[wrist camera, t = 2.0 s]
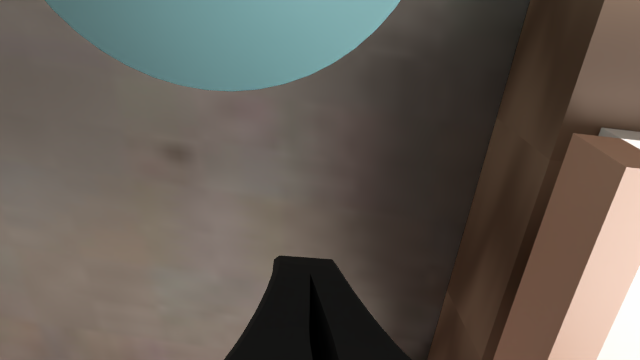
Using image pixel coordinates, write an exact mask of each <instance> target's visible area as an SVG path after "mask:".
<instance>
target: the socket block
mask: <svg viewBox="0 0 640 360" xmlns="http://www.w3.org/2000/svg"><path fill="white" fill-rule="evenodd" d="M601 128H610V129H619V130H627V131H636V132H640V0H530V3H529V7H528V10H527V14H526V17H525V21H524V24H523V28H522V31H521V35H520V38H519V42H518V45H517V48H516V52H515V55H514V59H513V62H512V66H511V69H510V73H509V76H508V80H507V83H506V87H505V90H504V94H503V97H502V101H501V104H500V108H499V111H498V115H497V118H496V122H495V125H494V129H493V132H492V135H491V139H490V142H489V146H488V149H487V153H486V156H485V160H484V163H483V167H482V170H481V174H480V177H479V181H478V184H477V188H476V191H475V195H474V198H473V202H472V205H471V209H470V212H469V216H468V219H467V223H466V226H465V229H464V233H463V236H462V240H461V243H460V247H459V250H458V254H457V257H456V261H455V264H454V268H453V271H452V275H451V278H450V282H449V285H448V289H447V292H446V296H445V299H444V303H443V306H442V310H441V313H440V317H439V320H438V323H437V327H436V330H435V334H434V337H433V341H432V344H431V348H430V351H429V355H428V358H427V360H493V358H494V355H495V353H496V350H497V347H498V344H499V341H500V338H501V336H502V333H503V330H504V327H505V324H506V322H507V319H508V316H509V313H510V310H511V307H512V305H513V302H514V299H515V296H516V293H517V290H518V288H519V285H520V282H521V279H522V276H523V273H524V271H525V268H526V265H527V262H528V259H529V257H530V254H531V251H532V248H533V245H534V242H535V240H536V237H537V234H538V231H539V228H540V225H541V223H542V220H543V217H544V214H545V211H546V208H547V206H548V203H549V200H550V197H551V194H552V192H553V189H554V186H555V183H556V180H557V177H558V175H559V172H560V169H561V166H562V163H563V160H564V158H565V155H566V152H567V149H568V146H569V143H570V141H571V138H572V135H573V133H577V134H585V135H594V136H598V135H599V133H600V130H601Z"/></svg>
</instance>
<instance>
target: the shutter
mask: <svg viewBox="0 0 640 360" xmlns="http://www.w3.org/2000/svg"><path fill="white" fill-rule="evenodd" d="M493 360H640V132H636V131H627V130H619V129H610V128H601V130H600V133H599V135H598V136H594V135H585V134H577V133H573V135H572V138H571V141H570V143H569V146H568V149H567V152H566V155H565V158H564V160H563V163H562V166H561V169H560V172H559V175H558V177H557V180H556V183H555V186H554V189H553V192H552V194H551V197H550V200H549V203H548V206H547V208H546V211H545V214H544V217H543V220H542V223H541V225H540V228H539V231H538V234H537V237H536V240H535V242H534V245H533V248H532V251H531V254H530V257H529V259H528V262H527V265H526V268H525V271H524V273H523V276H522V279H521V282H520V285H519V288H518V290H517V293H516V296H515V299H514V302H513V305H512V307H511V310H510V313H509V316H508V319H507V322H506V324H505V327H504V330H503V333H502V336H501V338H500V341H499V344H498V347H497V350H496V353H495V355H494V358H493Z"/></svg>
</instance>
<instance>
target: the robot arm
mask: <svg viewBox="0 0 640 360" xmlns="http://www.w3.org/2000/svg"><path fill="white" fill-rule="evenodd" d="M224 360H411V359H410V358H409V357H408V356H407V355H406V354H405V353H404V352H403V351H402V350H401V349H400V348H399V347H398V346H397V345H396V344H395V343H394V341H393V340H392V339H391V338H390V337H389V336H388V335H387V333H386V332H385V331H384V330H383V329H382V328H381V326H380V325H379V324H378V323H377V321H376V320H375V319H374V318H373V316H372V315H371V314H370V312H369V311H368V310H367V309H366V307H365V306H364V305H363V303H362V302H361V301H360V299H359V298H358V296H357V295H356V294H355V292H354V291H353V289H352V288H351V286H350V285H349V284H348V282H347V281H346V279H345V278H344V276H343V274H342V273H341V271H340V270H339V268H338V267H337V265H336V264H335V263H334V261H333V260H332V259H318V258H305V257H292V256H278V257H277V258H276V259H274V265H273V272H272V276H271V279H270V281H269V284H268V287H267V289H266V291H265V293H264V296H263V298H262V300H261V302H260V304H259V306H258V308H257V310H256V312H255V313H254V315H253V317H252V319H251V320H250V322H249V324H248V325H247V327H246V329H245V330H244V332H243V334H242V335H241V337H240V338H239V340H238V341H237V343H236V344H235V345H234V347H233V348H232V350H231V351H230V352H229V354H228V355H227V356H226V358H225V359H224Z"/></svg>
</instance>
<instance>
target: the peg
mask: <svg viewBox="0 0 640 360" xmlns="http://www.w3.org/2000/svg"><path fill="white" fill-rule="evenodd" d="M45 1H46V2H47V3H48V4H49V6H50V7H51V8H52V9H53V10H54V11H55V12H56V13H57V14H58V15H59V16H60V17H61V18H62V19H63V20H64V21H66V22H67V23H68V24H69V25H70V26H71V27H72V28H73V29H74V30H75V31H76V32H77V33H79V34H80V35H81V36H83V37H84V38H85V39H87V40H88V41H89V42H91V43H92V44H93V45H95V46H96V47H97V48H99V49H100V50H101V51H103V52H105V53H107V54H108V55H110V56H112V57H113V58H115V59H117V60H118V61H120V62H122V63H124V64H125V65H127V66H129V67H131V68H134V69H136V70H138V71H141V72H143V73H145V74H147V75H150V76H152V77H155V78H158V79H161V80H164V81H168V82H171V83H174V84H177V85H181V86H187V87H193V88H198V89H204V90H217V91H243V90H256V89H263V88H267V87H272V86H277V85H282V84H286V83H289V82H292V81H294V80H297V79H300V78H303V77H306V76H309V75H311V74H313V73H315V72H317V71H319V70H321V69H323V68H325V67H327V66H329V65H331V64H333V63H334V62H336V61H337V60H339V59H340V58H342V57H343V56H345V55H346V54H348V53H349V52H350V51H352V50H353V49H355V48H356V47H357V46H358V45H359V44H361V43H362V42H363V41H364V40H365V39H366V38H367V37H369V36H370V35H371V34H372V33H373V32H374V31H375V30H376V29H377V28H378V27H379V26H380V25H381V24H382V23H383V21H384V20H385V19H386V18H387V17H388V16H389V15H390V14H391V12H392V11H393V10H394V9H395V7H396V6H397V5H398V3H399V2H400V0H45Z"/></svg>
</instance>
